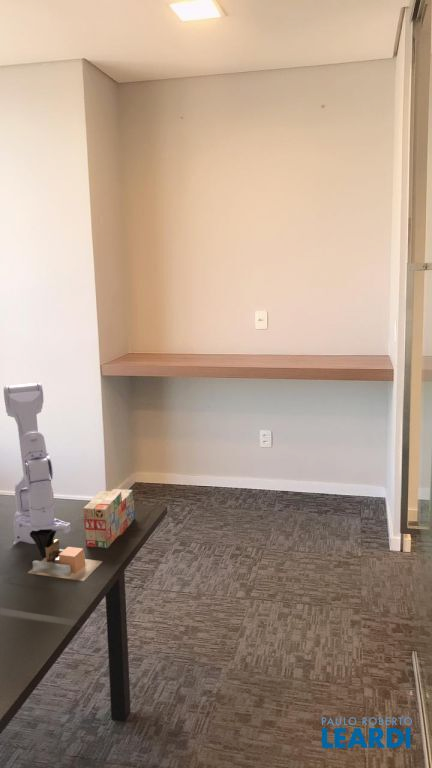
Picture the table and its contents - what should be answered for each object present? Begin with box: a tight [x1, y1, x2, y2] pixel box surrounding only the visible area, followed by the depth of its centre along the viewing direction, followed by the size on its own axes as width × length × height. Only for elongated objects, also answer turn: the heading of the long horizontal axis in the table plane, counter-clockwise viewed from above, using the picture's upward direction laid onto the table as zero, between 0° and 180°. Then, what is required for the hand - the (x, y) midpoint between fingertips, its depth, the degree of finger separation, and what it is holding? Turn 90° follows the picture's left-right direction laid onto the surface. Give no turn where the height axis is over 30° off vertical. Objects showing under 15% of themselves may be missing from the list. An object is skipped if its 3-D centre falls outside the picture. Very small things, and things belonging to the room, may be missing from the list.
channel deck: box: [27, 548, 103, 582], centre depth 158 cm, size 16×10×4 cm, turn 73°
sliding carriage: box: [45, 538, 60, 564], centre depth 158 cm, size 4×5×6 cm
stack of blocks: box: [83, 488, 136, 549], centre depth 178 cm, size 21×6×12 cm, turn 167°
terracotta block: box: [59, 546, 85, 573], centre depth 157 cm, size 4×4×4 cm
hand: (45, 555), depth 159 cm, fingers closed
